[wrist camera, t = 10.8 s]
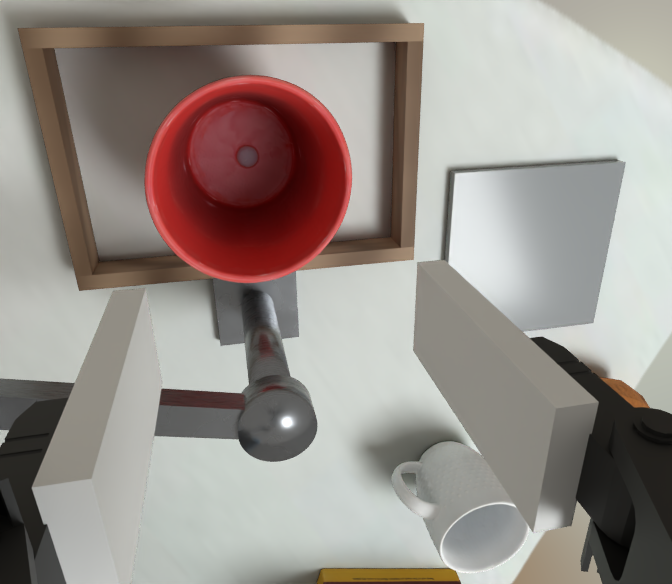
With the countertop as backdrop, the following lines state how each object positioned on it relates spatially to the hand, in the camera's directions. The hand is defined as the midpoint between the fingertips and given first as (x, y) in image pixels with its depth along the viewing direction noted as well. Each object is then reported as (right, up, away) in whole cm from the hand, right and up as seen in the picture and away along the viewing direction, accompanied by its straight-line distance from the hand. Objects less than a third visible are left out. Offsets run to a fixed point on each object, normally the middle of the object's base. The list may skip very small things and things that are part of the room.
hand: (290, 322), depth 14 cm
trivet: (+17, +4, +30) cm, 35 cm away
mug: (+10, -15, +37) cm, 41 cm away
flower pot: (-5, +10, +23) cm, 25 cm away
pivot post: (-5, 0, +27) cm, 27 cm away
